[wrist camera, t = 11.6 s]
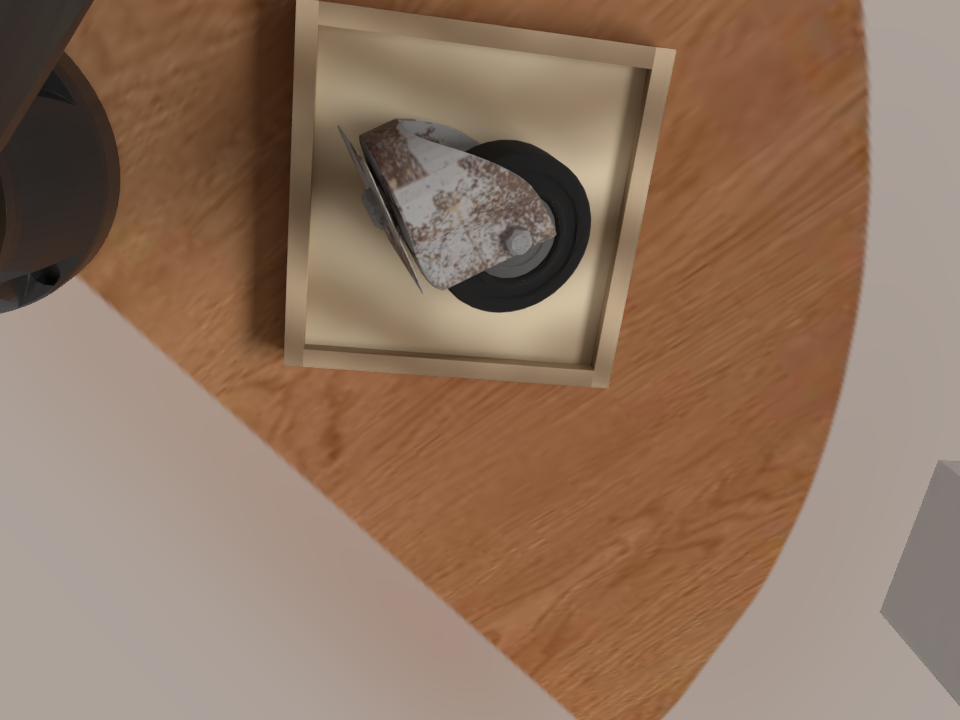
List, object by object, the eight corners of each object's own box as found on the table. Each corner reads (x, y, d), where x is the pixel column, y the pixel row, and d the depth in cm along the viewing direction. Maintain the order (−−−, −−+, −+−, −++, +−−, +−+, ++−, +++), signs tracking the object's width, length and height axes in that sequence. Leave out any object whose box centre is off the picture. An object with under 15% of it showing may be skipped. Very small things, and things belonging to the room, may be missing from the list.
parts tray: (300, -1, 37) (296, -3, 35) (663, 49, 40) (676, 50, 38) (288, 351, 44) (283, 365, 42) (599, 374, 47) (608, 388, 45)
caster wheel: (572, 238, 44) (412, 315, 44) (513, 41, 38) (325, 127, 37) (628, 287, 39) (447, 376, 38) (571, 67, 33) (351, 169, 32)
